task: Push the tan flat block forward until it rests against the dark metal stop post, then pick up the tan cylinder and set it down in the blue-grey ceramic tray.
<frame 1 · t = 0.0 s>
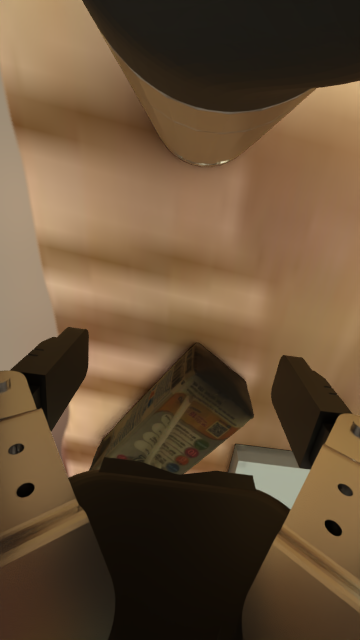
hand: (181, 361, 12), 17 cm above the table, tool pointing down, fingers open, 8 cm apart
tray: (287, 482, 39), on the table
beverage carton: (169, 409, 35), on the table
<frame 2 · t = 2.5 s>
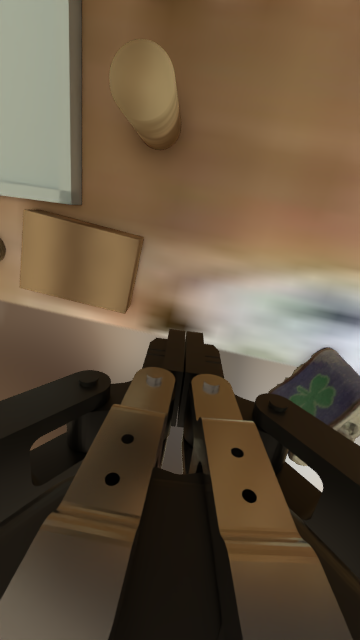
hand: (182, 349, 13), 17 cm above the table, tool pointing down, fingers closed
flask: (300, 376, 33), on the table
tray: (14, 91, 24), on the table
tan cylinder: (159, 125, 24), on the table
tan flat block: (88, 259, 29), on the table
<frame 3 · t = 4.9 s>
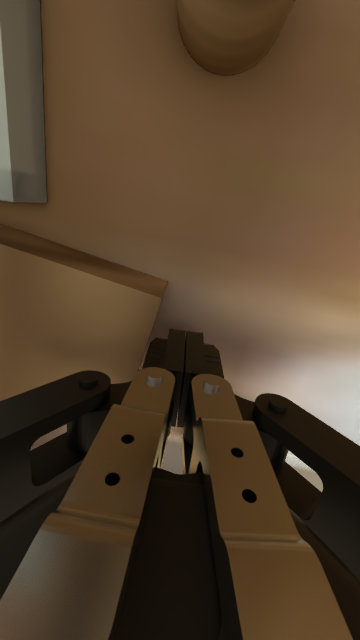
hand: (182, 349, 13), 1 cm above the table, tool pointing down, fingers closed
tan cylinder: (230, 9, 10), on the table
tan flat block: (51, 311, 15), on the table, touching gripper
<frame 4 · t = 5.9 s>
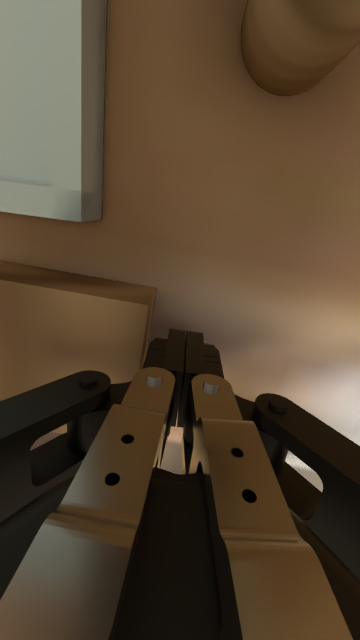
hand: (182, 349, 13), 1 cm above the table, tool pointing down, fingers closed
tan cylinder: (293, 33, 10), on the table
tan flat block: (52, 333, 15), on the table
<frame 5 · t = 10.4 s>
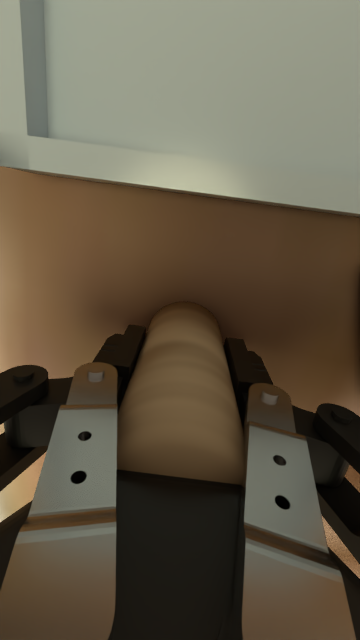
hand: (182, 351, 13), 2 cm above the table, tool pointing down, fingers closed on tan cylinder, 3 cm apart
tray: (255, 30, 10), on the table
tan cylinder: (183, 336, 15), on the table, touching gripper
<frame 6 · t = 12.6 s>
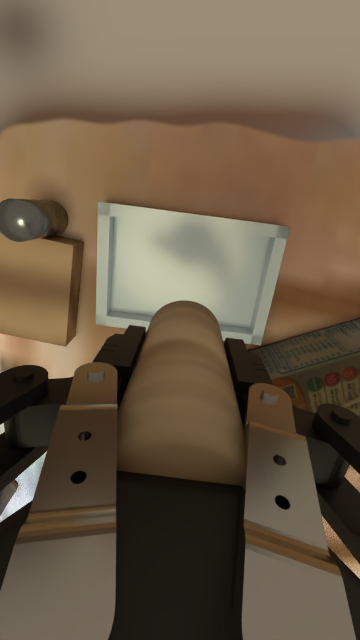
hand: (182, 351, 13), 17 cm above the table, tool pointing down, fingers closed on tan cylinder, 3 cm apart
tray: (186, 273, 28), on the table
tan cylinder: (184, 334, 14), point 15 cm above the table, touching gripper
stop post: (51, 218, 27), on the table
beverage carton: (325, 357, 32), on the table
tan flat block: (46, 283, 30), on the table
when the fingers open (4 cm above the table, at t = 15.1 s): tan cylinder stays where it is, resting on tray.
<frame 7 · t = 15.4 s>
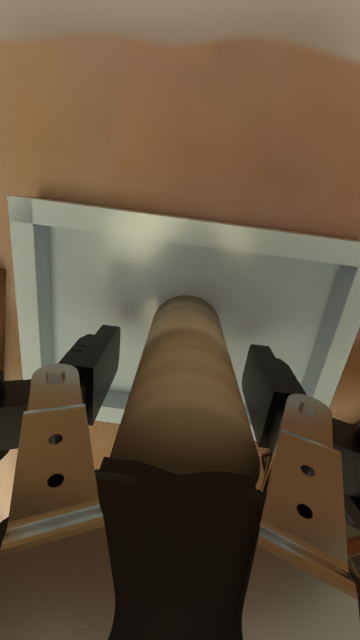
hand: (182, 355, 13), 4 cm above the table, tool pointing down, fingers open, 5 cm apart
tray: (184, 321, 16), on the table
tan cylinder: (185, 328, 15), point 1 cm above the table, touching tray
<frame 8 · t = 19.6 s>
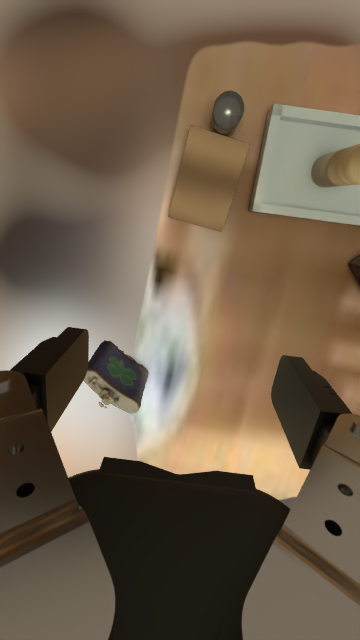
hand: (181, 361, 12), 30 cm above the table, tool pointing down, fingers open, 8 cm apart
flask: (124, 359, 47), on the table
tray: (321, 172, 36), on the table
tan cylinder: (326, 171, 35), point 1 cm above the table, touching tray
stop post: (222, 125, 35), on the table
tan flat block: (205, 183, 37), on the table
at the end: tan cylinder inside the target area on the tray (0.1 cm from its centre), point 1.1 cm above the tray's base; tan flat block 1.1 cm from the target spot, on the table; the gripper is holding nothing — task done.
